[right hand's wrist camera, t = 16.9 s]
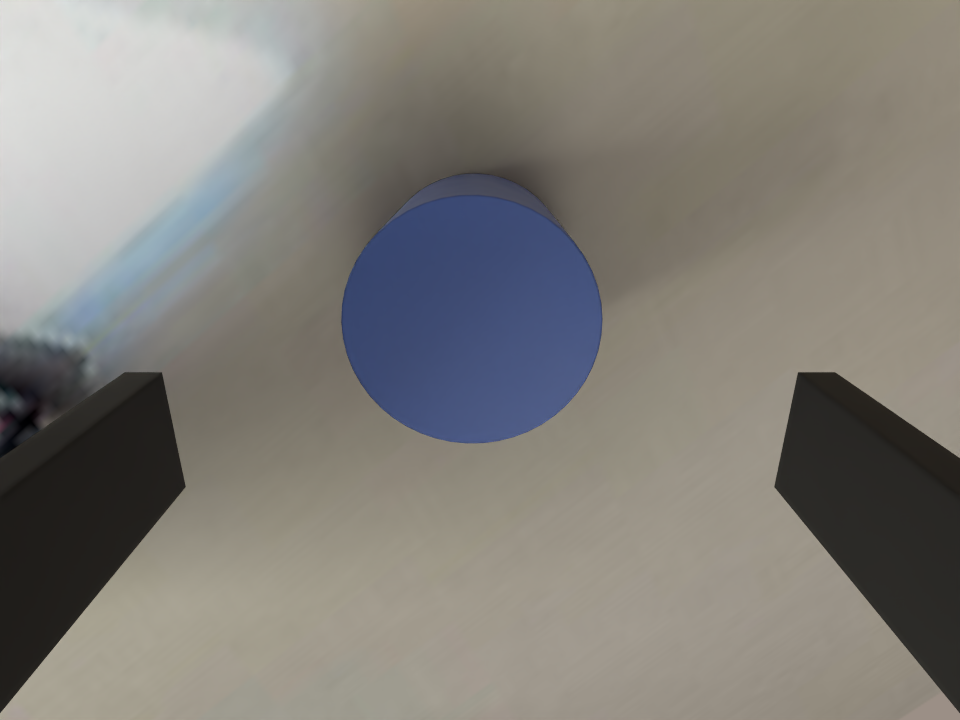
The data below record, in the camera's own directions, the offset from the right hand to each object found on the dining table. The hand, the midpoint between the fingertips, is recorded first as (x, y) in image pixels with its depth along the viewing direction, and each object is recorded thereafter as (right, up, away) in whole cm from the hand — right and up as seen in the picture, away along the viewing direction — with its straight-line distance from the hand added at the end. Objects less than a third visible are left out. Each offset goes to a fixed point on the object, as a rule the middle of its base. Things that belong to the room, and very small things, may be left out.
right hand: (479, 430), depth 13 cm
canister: (0, +6, +15) cm, 16 cm away
